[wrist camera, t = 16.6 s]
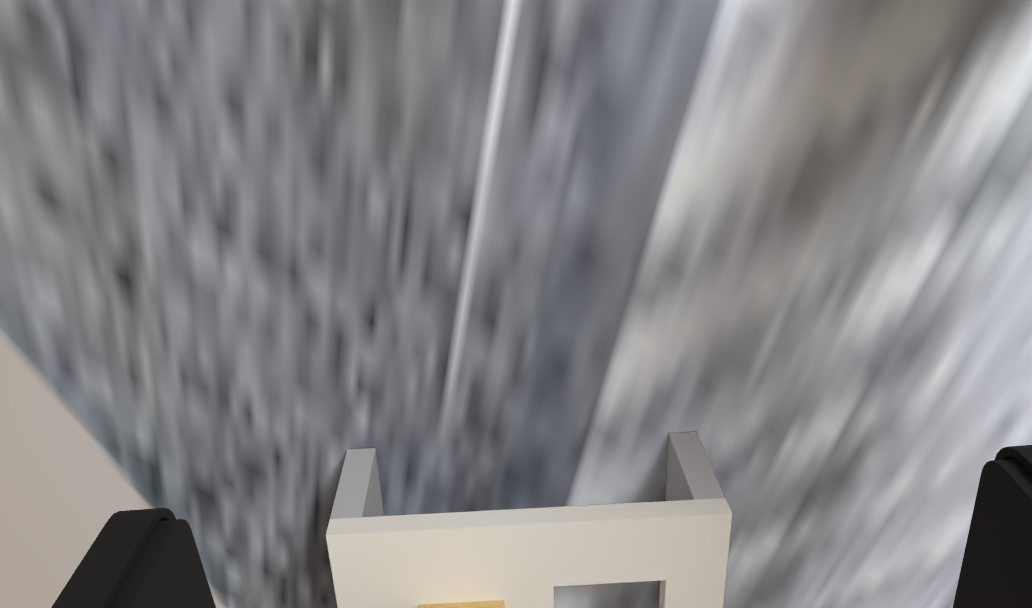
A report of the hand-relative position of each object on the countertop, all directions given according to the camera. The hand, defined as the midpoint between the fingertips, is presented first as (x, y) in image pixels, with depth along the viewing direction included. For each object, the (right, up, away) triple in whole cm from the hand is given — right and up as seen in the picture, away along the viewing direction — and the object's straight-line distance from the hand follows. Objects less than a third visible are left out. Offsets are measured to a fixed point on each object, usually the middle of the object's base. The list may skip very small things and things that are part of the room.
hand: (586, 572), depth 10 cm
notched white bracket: (0, -11, +40) cm, 41 cm away
